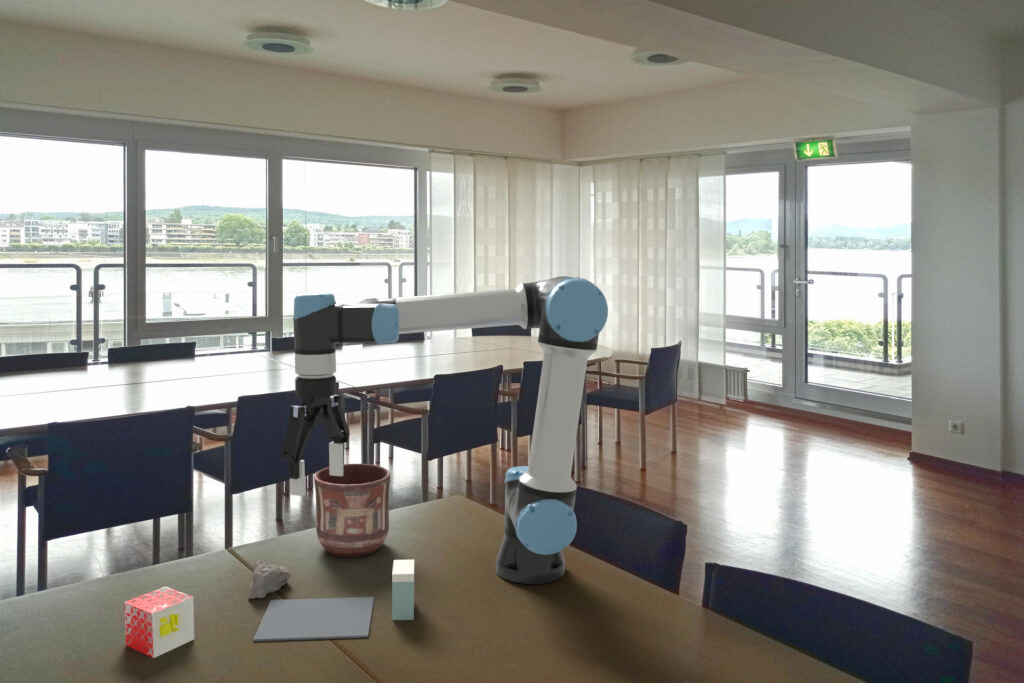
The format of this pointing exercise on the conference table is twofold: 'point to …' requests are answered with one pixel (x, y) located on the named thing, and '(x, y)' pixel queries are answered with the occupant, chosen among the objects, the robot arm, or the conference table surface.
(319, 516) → the pottery
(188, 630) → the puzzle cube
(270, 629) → the slate mat
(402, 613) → the painted block
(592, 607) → the conference table surface
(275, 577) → the stone
